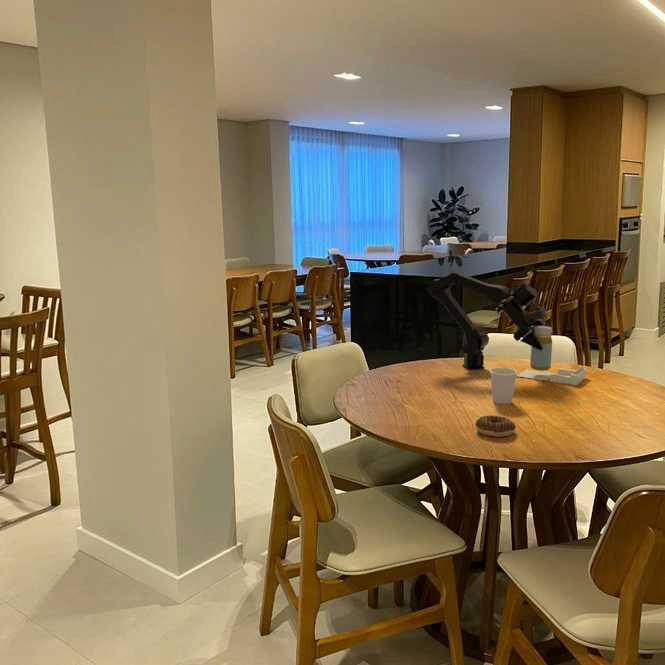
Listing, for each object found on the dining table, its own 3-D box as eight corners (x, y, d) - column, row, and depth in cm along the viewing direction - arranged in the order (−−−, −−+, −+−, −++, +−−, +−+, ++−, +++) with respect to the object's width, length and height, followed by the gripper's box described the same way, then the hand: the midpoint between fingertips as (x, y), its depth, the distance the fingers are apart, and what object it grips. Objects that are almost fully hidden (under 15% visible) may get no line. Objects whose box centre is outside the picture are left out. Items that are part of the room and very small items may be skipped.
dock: (548, 381, 230) (549, 371, 229) (559, 374, 239) (559, 364, 239) (576, 385, 225) (576, 374, 224) (585, 378, 234) (586, 367, 233)
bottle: (552, 367, 238) (555, 327, 235) (547, 371, 232) (550, 330, 229) (533, 365, 242) (535, 325, 239) (527, 369, 236) (530, 328, 233)
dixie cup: (519, 405, 203) (520, 374, 201) (491, 405, 203) (492, 374, 201) (512, 397, 211) (513, 367, 209) (486, 398, 211) (487, 367, 209)
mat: (516, 376, 237) (516, 375, 237) (526, 370, 246) (526, 369, 246) (546, 381, 231) (546, 380, 231) (556, 374, 240) (556, 373, 240)
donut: (467, 433, 179) (467, 418, 179) (488, 423, 187) (489, 410, 186) (501, 442, 172) (502, 427, 171) (522, 432, 179) (523, 418, 178)
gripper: (524, 303, 227) (554, 338, 223) (541, 297, 242) (570, 329, 238) (501, 323, 233) (530, 357, 229) (519, 316, 248) (547, 348, 244)
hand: (545, 347), depth 235 cm, fingers closed on bottle, 7 cm apart
